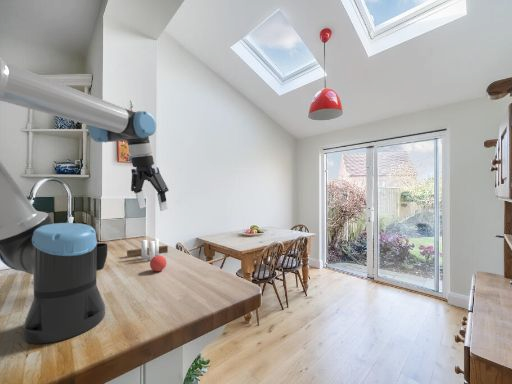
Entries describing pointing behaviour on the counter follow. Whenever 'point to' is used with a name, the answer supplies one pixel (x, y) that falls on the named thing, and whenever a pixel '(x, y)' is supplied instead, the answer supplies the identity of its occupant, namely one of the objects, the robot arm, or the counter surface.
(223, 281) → the counter surface
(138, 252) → the backstop
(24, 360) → the counter surface
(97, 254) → the mug
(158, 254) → the pin right
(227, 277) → the counter surface
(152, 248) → the pin front
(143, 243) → the pin left
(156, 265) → the ball
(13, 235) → the robot arm
